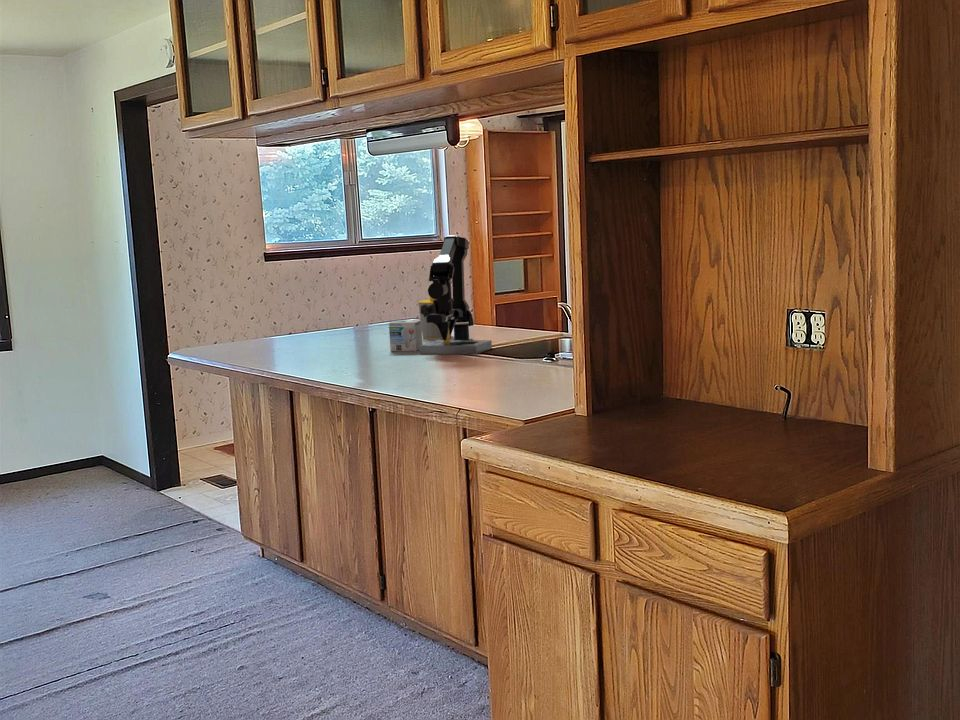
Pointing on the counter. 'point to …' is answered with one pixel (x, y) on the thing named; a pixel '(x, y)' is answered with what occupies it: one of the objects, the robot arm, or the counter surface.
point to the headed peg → (447, 338)
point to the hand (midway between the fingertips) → (446, 339)
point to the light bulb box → (405, 335)
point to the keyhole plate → (456, 347)
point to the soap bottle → (428, 328)
